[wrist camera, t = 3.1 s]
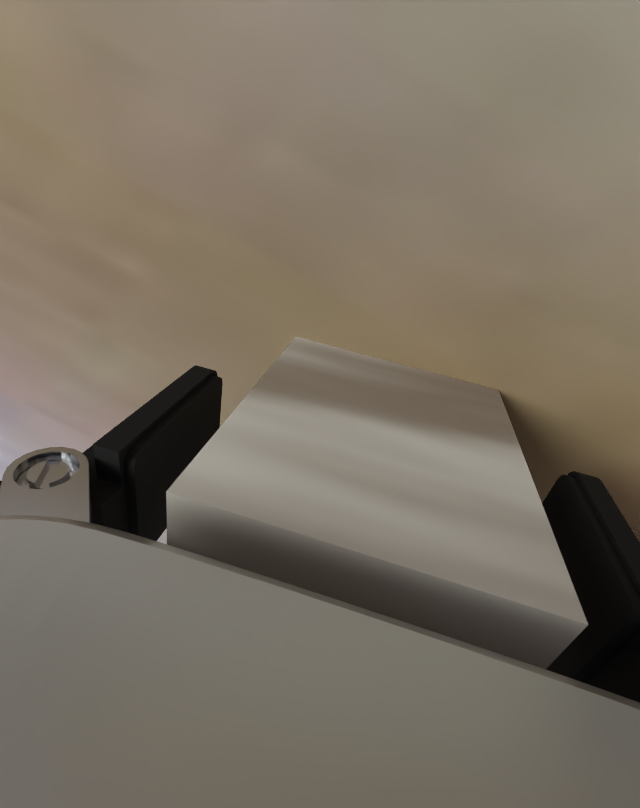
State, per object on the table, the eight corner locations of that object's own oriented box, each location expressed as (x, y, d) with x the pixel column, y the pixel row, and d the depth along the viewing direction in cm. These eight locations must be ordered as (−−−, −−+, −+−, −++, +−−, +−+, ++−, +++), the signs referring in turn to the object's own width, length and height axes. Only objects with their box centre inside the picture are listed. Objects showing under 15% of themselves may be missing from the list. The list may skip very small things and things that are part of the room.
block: (296, 336, 12) (166, 491, 6) (498, 389, 11) (588, 625, 5) (278, 442, 14) (168, 638, 8) (448, 492, 13) (472, 746, 7)
